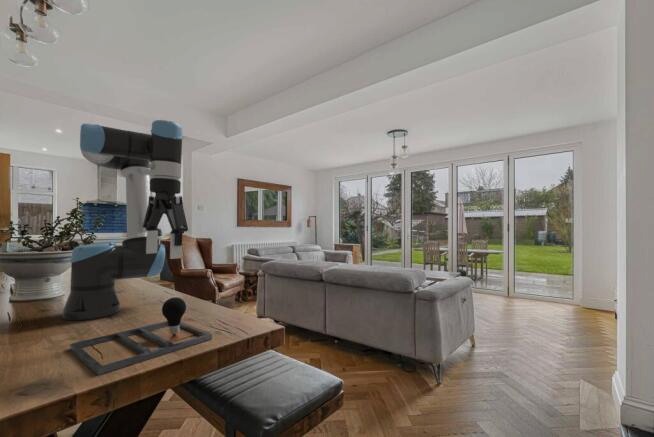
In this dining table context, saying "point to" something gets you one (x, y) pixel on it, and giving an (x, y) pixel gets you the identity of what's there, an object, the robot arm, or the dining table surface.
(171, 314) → the light bulb
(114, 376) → the dining table surface
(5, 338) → the dining table surface
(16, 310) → the dining table surface
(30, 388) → the dining table surface
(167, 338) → the gray divided frame
